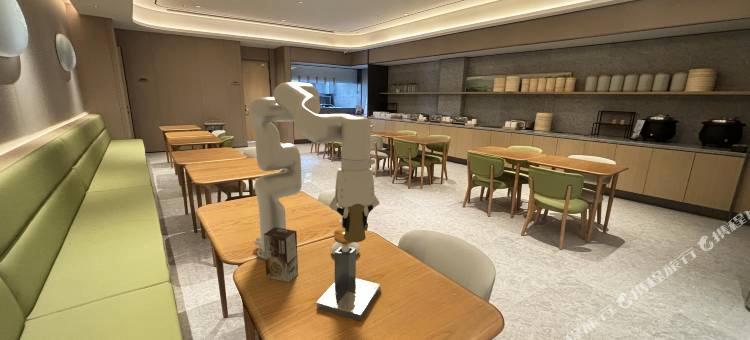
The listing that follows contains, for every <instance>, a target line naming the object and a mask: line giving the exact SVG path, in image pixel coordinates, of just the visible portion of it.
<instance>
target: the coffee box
mask: <svg viewBox="0 0 750 340" xmlns="http://www.w3.org/2000/svg"><path fill="white" fill-rule="evenodd" d="M297 233H298V232H297V230H293V229H288V228H286V229H282V228H276V227H274V228H273V229H271V230H270V231H268V232H267V233H265V234H264V248H265V259H264V261H265V271H266V272H265V273H266V275H265V276H266V278H269V279H273V280H278V281H282V282H286V283H290V281H292V280H293V279H294V278H295V277H296V276H297V275H299V263H298V237H297Z"/></svg>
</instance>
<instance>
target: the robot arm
mask: <svg viewBox="0 0 750 340" xmlns="http://www.w3.org/2000/svg"><path fill="white" fill-rule="evenodd" d="M320 112H321V103H320V93H319V91H318V88H316V86H315V85H313V84H311V83H307V82H290V81H289V82H288V81H287V82H286V81H285V82H282V83H279V84H278V85H277V86H276V87H275V88H274V90H273V96H267V97H266V96H264V97H262V96H261V97H257V98H255V99H253V100H252V101H251V102H250V104H249V108H248V116H249V120H250V124H251V126H252V130H253V133H254V141H255V142H254V143H255V153H256V162H257V166H258V168H259V170H261V171H263V172H272V171H273V172H274V171H279V170H280V171H281V170H284V171H281V172H275V173H268V174H264V175H262V176H259V177H258V178H257V179H255V182H254V192H255V195H256V199H257V204H258V205H257V206H258V216H259V217H258V218H259V232H260V237H256V239H255V241H254V242H253V243H254V245H256V246H258V249H257V251H256V252H257V257H259V258H260V259H262V260H265V248H264V234H265V233H267V232H268V231H270V230H271V229H273V228H274V227H276V228H282V229H287V222H286V221H287V220H286V208H285V206H284V205H283V204H282V202H281V201H280V199H281V198H285V197H289V196H293V195H296V194H298V193H299V192H300V191H301V190H302V183H303V182H302V181H303V180H302V159H301V158H302V157H301V153H300V151H299V148H298V147H297V146H296V145H295V144H294V143H281V135H280V131H279V129H278V128H277V126H276V125H275V124H274V123H281V122H283V123H286V122H294V124H295V127H296V130H297V131H298V133H299V134H300V135H302V136H303V137H305V138H306V139H307V140H308V141H310V142H312V143H315V144H329V143H339V142H340V143H341V145H340V146H341V147H340V152H341V153H340V158H341V159H340V164H341V165H340V166H341V167H339V168H338V169H337V172H336V178H335V191H334V197H333V199H332V201H331V202H330V204H329V208H330V209H331V210H333V211H335V212H337V213H338V214H339V215H341V219H342V225H341V227H342V226H343V228H345V230H346V232H348V231H349V217H348V211H349V210H348V207H351V206H353V205H355V204H361V205H363V206H365V207H364V211H363V227H364V230H365V231H366V226H367V225H368V216H369V214H370V213H371V212H372V211H373V209H375V208H376V207H378V206H379V205H380V201H379V199H378V198H377V196H376V193H375V181H374V180H375V179H374V175H373V173H374V172H373V169H372V168H371V167H372V166H373V165H375V164H376V160H375V159H373V158H372V157H371V135H372V134H371V133H372V132H371V131H372V130H371V129H372V124H371V119H369V118H368V117H366V116H355V115H352V114H347V113H329V114H328V113H324V114H320Z"/></svg>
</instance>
